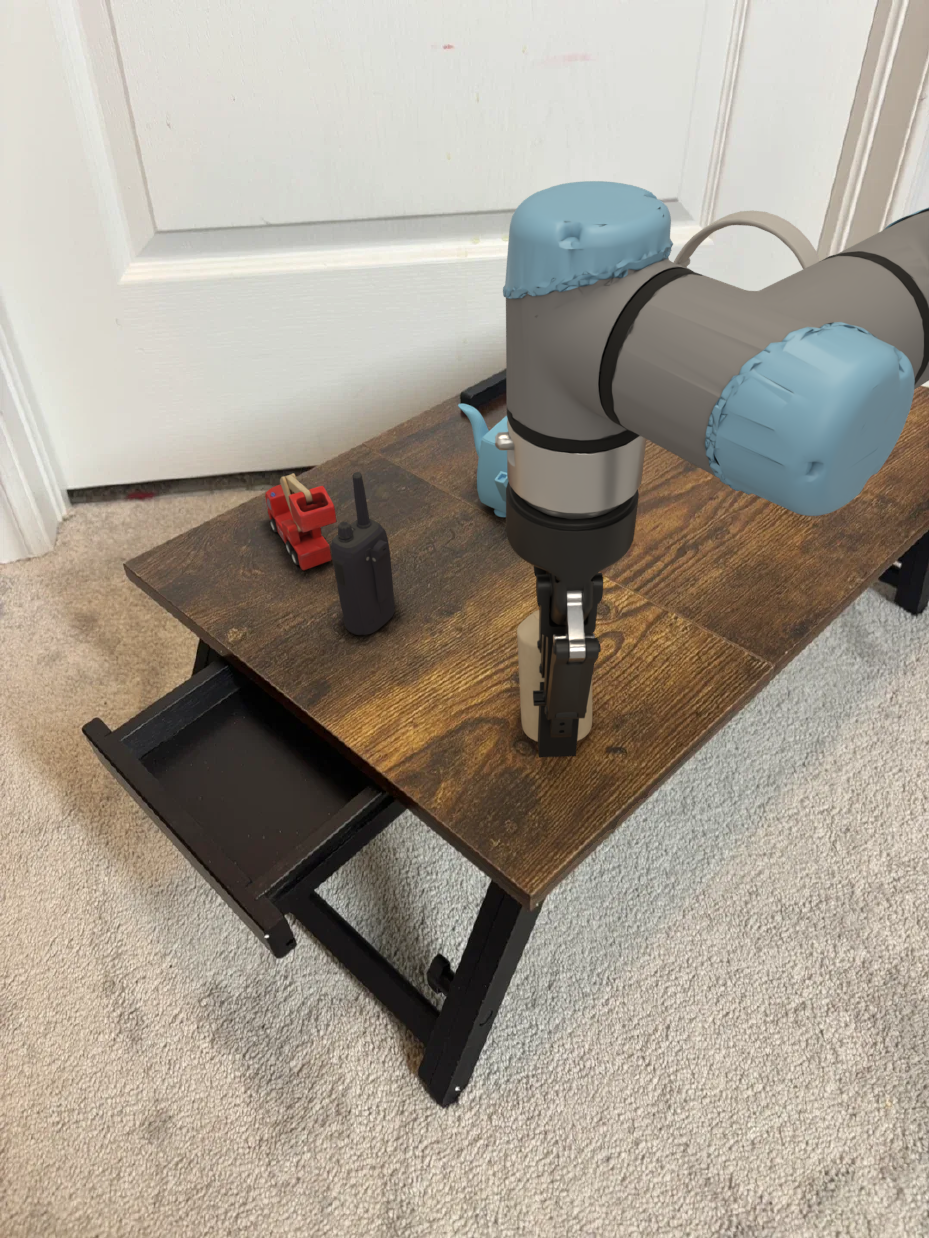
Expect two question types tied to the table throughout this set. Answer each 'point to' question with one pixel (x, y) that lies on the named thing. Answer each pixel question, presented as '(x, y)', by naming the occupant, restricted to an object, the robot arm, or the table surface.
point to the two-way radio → (363, 569)
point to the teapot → (489, 461)
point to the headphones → (763, 221)
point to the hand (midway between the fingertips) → (556, 748)
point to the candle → (537, 679)
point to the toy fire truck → (301, 520)
